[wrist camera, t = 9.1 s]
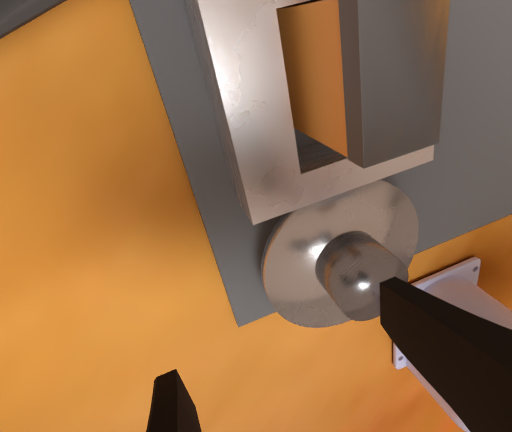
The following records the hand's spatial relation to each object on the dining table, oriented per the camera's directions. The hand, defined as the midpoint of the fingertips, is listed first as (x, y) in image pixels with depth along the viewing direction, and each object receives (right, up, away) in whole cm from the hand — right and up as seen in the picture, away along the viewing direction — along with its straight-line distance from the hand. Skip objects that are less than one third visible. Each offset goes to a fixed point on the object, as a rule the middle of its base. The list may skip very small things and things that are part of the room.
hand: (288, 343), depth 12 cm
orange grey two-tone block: (+1, +12, +5) cm, 13 cm away
